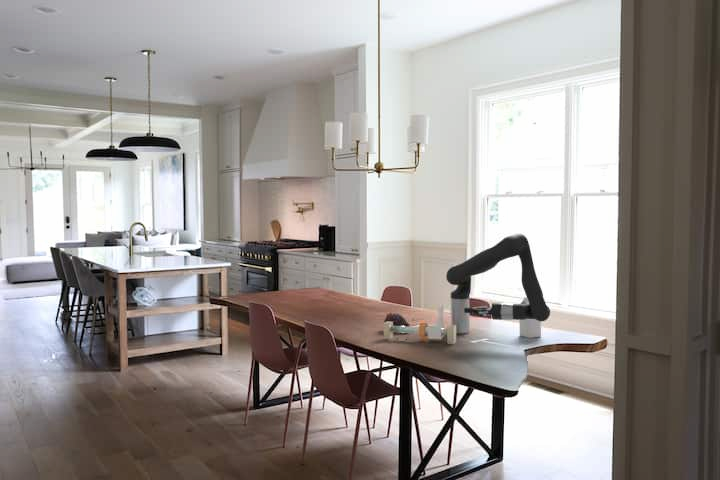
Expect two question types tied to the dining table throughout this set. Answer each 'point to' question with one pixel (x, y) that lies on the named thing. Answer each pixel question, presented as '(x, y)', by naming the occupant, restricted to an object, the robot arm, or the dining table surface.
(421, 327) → the ring
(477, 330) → the dining table surface
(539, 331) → the milk carton
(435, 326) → the sleeve
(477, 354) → the dining table surface
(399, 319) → the pine cone
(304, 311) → the dining table surface
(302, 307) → the dining table surface
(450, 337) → the pipe rail
